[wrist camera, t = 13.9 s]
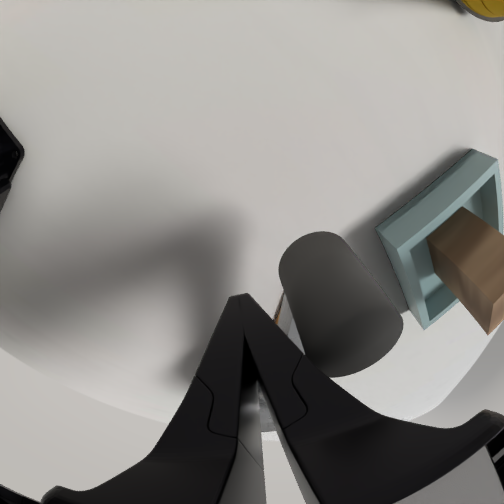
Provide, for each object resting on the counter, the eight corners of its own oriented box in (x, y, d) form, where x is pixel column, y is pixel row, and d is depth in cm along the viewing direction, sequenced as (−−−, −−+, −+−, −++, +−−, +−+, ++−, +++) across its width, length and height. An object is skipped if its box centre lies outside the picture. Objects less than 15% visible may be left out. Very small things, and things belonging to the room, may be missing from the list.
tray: (375, 227, 15) (396, 249, 13) (472, 148, 13) (497, 159, 11) (409, 310, 20) (423, 330, 18) (485, 243, 17) (502, 258, 15)
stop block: (425, 238, 15) (493, 304, 9) (462, 206, 14) (531, 259, 8) (434, 273, 17) (487, 335, 11) (467, 243, 16) (523, 296, 10)
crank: (296, 406, 19) (310, 461, 15) (234, 412, 18) (241, 471, 14) (367, 223, 11) (440, 300, 7) (253, 217, 10) (282, 316, 6)
